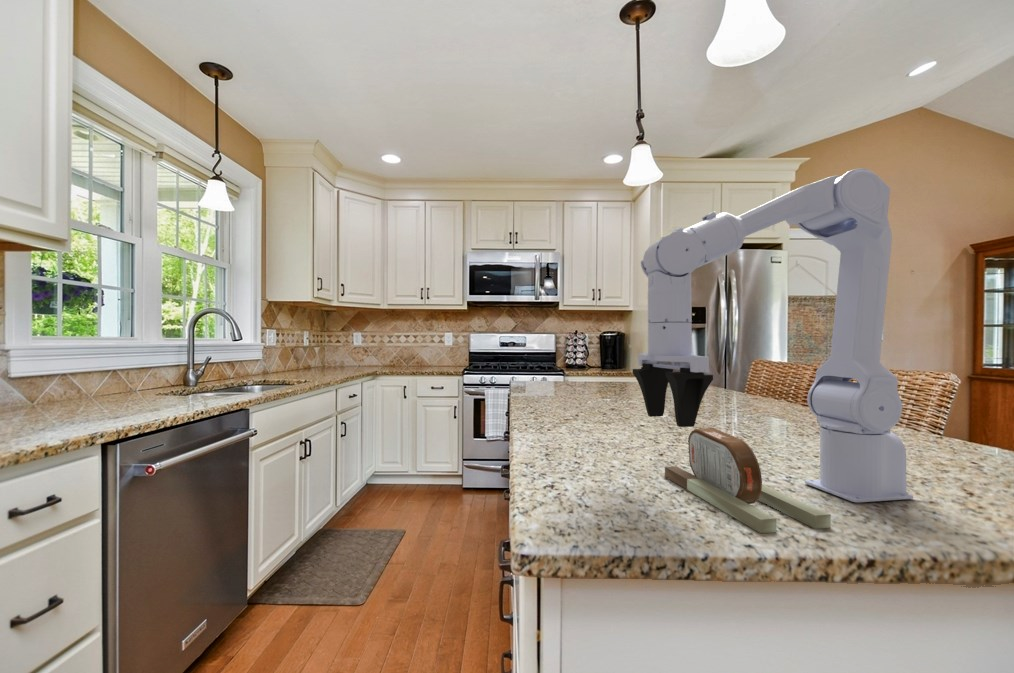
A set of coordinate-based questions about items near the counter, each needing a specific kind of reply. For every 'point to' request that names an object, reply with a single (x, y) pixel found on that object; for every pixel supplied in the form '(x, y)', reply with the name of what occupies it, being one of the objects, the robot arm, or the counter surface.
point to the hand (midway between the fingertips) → (669, 420)
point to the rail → (746, 511)
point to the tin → (725, 463)
